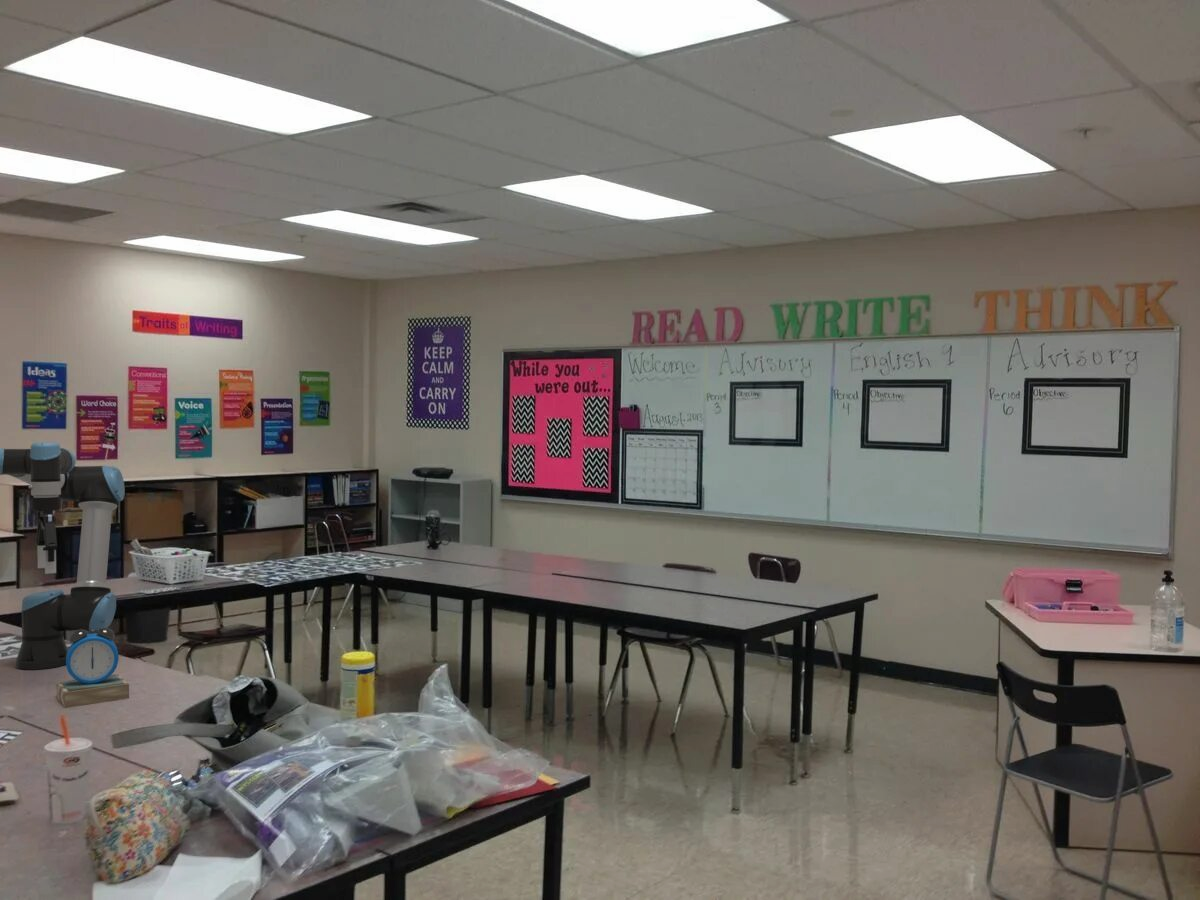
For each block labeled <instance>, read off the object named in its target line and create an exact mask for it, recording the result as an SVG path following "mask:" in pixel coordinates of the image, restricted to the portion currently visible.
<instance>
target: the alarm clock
mask: <svg viewBox="0 0 1200 900" xmlns="http://www.w3.org/2000/svg"><path fill="white" fill-rule="evenodd" d="M89 632H90V633H88V630H77V631H72V633H71V634H70V636H69V638H68V641H69V643H70V645H69V648H67V649H68V651H67V655H66V665H65V666H66V670H67V672H68V674H69V675H70V676H71V677H72V678H73V680H77V681H79V685H80V684H81V682H82V683H87V684H93V683H98V682H101V681H103V680H104V681H105V682H107V681H106V679H107V678H108V677H109V676H110V675H113V673H114V672H115V670H116V669H117V667H118V663H119V651H118V647H117V645H116V644H115V642H114V641H113V640H114V639H115V637H116V635H115V632H114V631H113V630H112V629H111V628H110V627H107V628H100V629H99V630H96V633H95V630H94V631H90V630H89Z"/></svg>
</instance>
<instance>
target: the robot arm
mask: <svg viewBox="0 0 1200 900" xmlns="http://www.w3.org/2000/svg"><path fill="white" fill-rule="evenodd" d="M76 460H77V459H76V456H75V455H74V453H73V452H72V451H71V450H69V449H67V448H63V447H61V445H60V443H59V442H33V443H31V445H30V448H0V476H2V475H6V476H10V477H13V478H15V479H17V480H20V481H22V482H24V483H26V484H27V485H28V484H29V485H28V489H31V490H30V495H31V496H32V497H31V499H30V509H31V511H33V512H37V514H36V515H37V519H36V520H37V525H36V538H35V541H36V545H37V569H44V574H46V575H48V574H57V548H58V546H59V545H58V540H57V529H56V515H55V514H53V511H59V510H61V508H62V501H66V502H78V505H77V506H78V507H79V508H80V509H81V510H82V517H81V527H80V528H81V530H80V539H79V540H80V542H79V552H78V564H77V565H78V566H77V575H76V583H75V584H73V586H71V588H70V594H65V592H64V590H63V589H49V590H44V591H40V592H39V591H38V592H34V593H31V594H28V595H25V596H24V597H23V598H22V600H21V601H22V602H21V610H20V612H21V637H22V638H21V639H22V640H21V645H20V648H19V650H18V653H17V656H16V661H15V667H16V669H20V670H33V671H34V670H43V669H44V670H45V669H52V668H53V669H54V668H58V667H61V666H62V667H63V666H66V655H67V651H68V649H69V648H68V647H67V644H66V641H65V639H64V636H65V635H64V633H65V632H74V631H77V630H85V631H89V632H90V631H94V632H95V631H98V630H99V629H100V628H109V627H110V626H111V624H112V622H113V620H114V616H115V614H116V611H117V596H116V594H115V593H113V592H111V591H112V588H111V587H110V585H108V584H107V577H108V575H107V574H108V562H109V550H110V537H111V528H112V525H111V524H112V516H113V515H112V514H113V511H114V510H116V509H117V508H118V502H122V501H123V500H124V499H125V492H126V491H125V481H124V478H123V474H122V472H121V470H120V469H119V468H118V467H116V466H109V465H88V466H87V465H86V466H85V465H84V466H83V465H82V466H80V465H79V466H78V465H77V466H75V465H76V463H77V461H76Z"/></svg>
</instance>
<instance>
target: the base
mask: <svg viewBox="0 0 1200 900" xmlns="http://www.w3.org/2000/svg"><path fill="white" fill-rule="evenodd" d="M106 681H107V682H105V681H104V680H103V681H101V682H98V683H93V684H87V683H82V682H81V684H80V685H79V681H77V680H75V679H71V680H70V679H69V680H63V681H57V682H56V698H57V699H58V700H59V702H60V703H61V705H63V707H64V708H70V707H71V708H72V707H79V706H85V705H92V704H100V703H105V702H106V701H107V702H114V701H120V700H119V699H121V700H127V699H130V684H129V683H128V682H127V681H126V680H125V679H124V678H123V677H122V676H121V675H120V674H119V673H118V674H111V675H110V676H109V677H108V678H107V679H106ZM126 698H127V699H126ZM113 700H114V701H113Z"/></svg>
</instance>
